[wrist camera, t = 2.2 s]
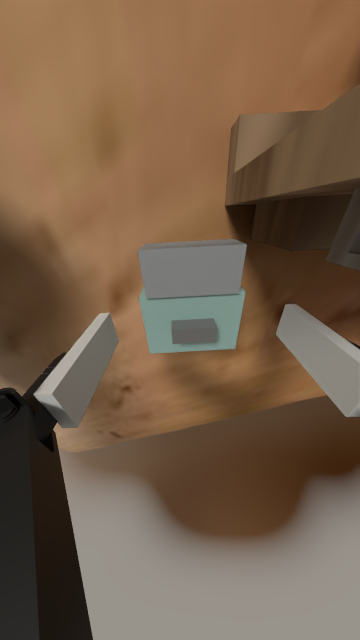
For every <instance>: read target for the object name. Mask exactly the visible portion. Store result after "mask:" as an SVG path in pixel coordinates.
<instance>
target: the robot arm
mask: <svg viewBox="0 0 360 640" xmlns="http://www.w3.org/2000/svg"><path fill="white" fill-rule="evenodd" d="M276 335H277V336H278V338H279V339H280V340H281V341H282V342H283V343H284V345H285V346H286V347H287V348H288V349H289V350H290V352H291V353H292V354H293V355H294V356H295V358H296V359H297V360H298V361H299V362H300V363H301V365H302V366H303V367H304V368H305V369H306V370H307V372H308V373H309V374H310V375H311V376H312V378H313V379H314V380H315V381H316V382H317V383H318V385H319V386H320V387H321V388H322V389H323V390H324V392H325V393H326V394H327V395H328V396H329V397H330V399H331V400H332V401H333V402H334V403H335V405H336V406H337V407H338V408H339V409H340V410H341V412H342V413H343V414H344V415H345V416H346V417H356V416H360V346H358V345H356V344H354V343H352V342H350V341H348V340H345V339H344V338H343V337H341V336H340V335H338V334H337V333H336V332H334V331H333V330H332V329H330V328H329V327H327V326H326V325H325V324H323V323H322V322H320V321H319V320H318V319H316V318H315V317H313V316H312V315H311V314H309V313H308V312H306V311H305V310H304V309H302V308H301V307H300V306H298V305H297V304H285V307H284V310H283V313H282V316H281V319H280V322H279V325H278V328H277V331H276ZM118 342H119V340H118V337H117V334H116V331H115V328H114V324H113V321H112V318H111V315H110V313H100V314H99V315H98V316H97V317H96V318H95V320H94V321H93V322H92V323H91V325H90V326H89V327H88V328H87V329H86V331H85V332H84V333H83V334H82V336H81V337H80V338H79V339H78V340H77V342H76V343H75V344H74V345H73V347H72V348H71V349H70V350H69V351H68V353H63V354H61V355H60V356H58V357H57V358H56V359H54V360H53V362H52V363H51V364H50V365H49V366H48V368H47V369H46V370H45V371H44V372H43V374H41V375H40V377H39V378H38V379H37V380H36V381H35V382H34V383H33V385H32V386H31V387H30V388H29V389H28V390H27V391H26V393H25V394H24V395H23V396H21V395H20V394H19V393H18V392H17V391H16V390H15V389H13V388H3V389H0V640H93V637H92V632H91V627H90V621H89V615H88V610H87V604H86V599H85V593H84V588H83V582H82V577H81V571H80V566H79V561H78V555H77V549H76V544H75V539H74V533H73V527H72V522H71V516H70V511H69V505H68V500H67V494H66V489H65V483H64V478H63V472H62V467H61V462H60V456H59V450H58V445H57V439H56V434H55V432H54V430H53V428H54V427H55V425H56V423H57V422H58V423H59V425H60V426H61V427H62V428H76V427H78V426H79V424H80V422H81V420H82V418H83V416H84V413H85V411H86V409H87V407H88V405H89V403H90V401H91V399H92V397H93V395H94V392H95V390H96V388H97V386H98V384H99V382H100V380H101V378H102V376H103V374H104V371H105V369H106V367H107V365H108V363H109V361H110V359H111V357H112V355H113V353H114V350H115V348H116V346H117V344H118Z"/></svg>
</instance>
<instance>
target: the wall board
mask: <svg viewBox="0 0 360 640" xmlns="http://www.w3.org/2000/svg"><path fill="white" fill-rule="evenodd" d="M248 204H256V209H255V215H254V221H253V226H252V232H251V238H250V239H252V240H256V241H259V242H262V243H266V244H269V245H273V246H276V247H279V248H283V249H286V250H290V251H297V250H315V249H330V250H329V253H328V255H327V258H326V260H325V261H327V262H331V263H334V264H337V265H341V266H344V267H348V268H351V269H354V270H358V271H360V83H359V84H358V85H356V86H355V87H354V88H352V89H351V90H349V91H348V92H347V93H345V94H344V95H342V96H341V97H340V98H338V99H337V100H335V101H334V102H333V103H331V104H330V105H328V106H327V107H326V108H324V109H323V110H316V111H297V112H279V113H261V114H242V115H240V116H239V117H238V119H237V120H236V122H235V123H234V125H233V127H232V128H231V140H230V151H229V163H228V175H227V187H226V199H225V206H230V205H248Z"/></svg>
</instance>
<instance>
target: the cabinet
mask: <svg viewBox="0 0 360 640" xmlns="http://www.w3.org/2000/svg"><path fill="white" fill-rule="evenodd" d="M246 248H247V244H245V243H242V242H240V241H237V240H234V239H224V240H206V241H188V242H170V243H152V244H144V245H143V246H142V247H141V248H140V249H139V250H138V256H139V261H140V267H141V273H142V278H143V284H144V287H143V289H142V292H141V294H140V296H139V301H140V306H141V311H142V316H143V321H144V326H145V331H146V336H147V341H148V346H149V351H150V354H151V353H169V352H187V351H204V350H222V349H235V347H236V342H237V336H238V331H239V325H240V320H241V314H242V309H243V304H244V298H245V293H246V292H245V291H244V290H243V289H242V287H241V286H240V285H241V279H242V272H243V266H244V260H245V254H246Z"/></svg>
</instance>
